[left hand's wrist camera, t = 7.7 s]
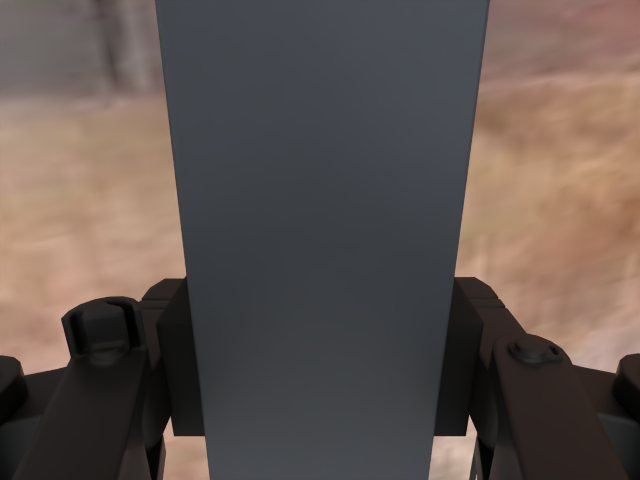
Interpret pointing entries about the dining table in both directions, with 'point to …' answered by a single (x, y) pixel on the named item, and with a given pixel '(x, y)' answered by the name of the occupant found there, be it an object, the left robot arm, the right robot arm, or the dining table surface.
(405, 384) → the bar
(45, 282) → the dining table surface
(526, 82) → the dining table surface
